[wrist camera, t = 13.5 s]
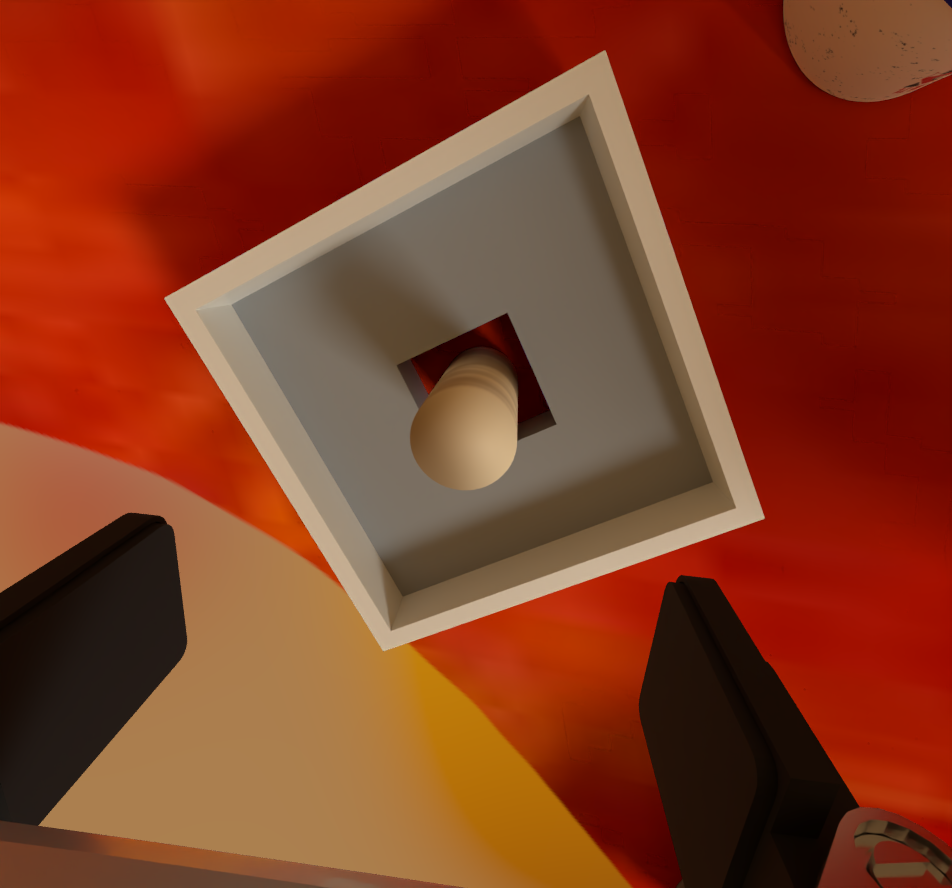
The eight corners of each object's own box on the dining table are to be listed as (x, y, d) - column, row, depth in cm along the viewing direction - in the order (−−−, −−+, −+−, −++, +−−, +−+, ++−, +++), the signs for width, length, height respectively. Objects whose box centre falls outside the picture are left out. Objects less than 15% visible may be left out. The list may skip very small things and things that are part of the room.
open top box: (584, 99, 24) (605, 49, 19) (717, 469, 29) (764, 518, 24) (234, 291, 28) (164, 298, 23) (406, 585, 34) (383, 651, 28)
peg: (499, 334, 28) (489, 370, 19) (529, 400, 29) (534, 467, 20) (433, 365, 29) (391, 414, 19) (464, 428, 30) (439, 505, 20)
